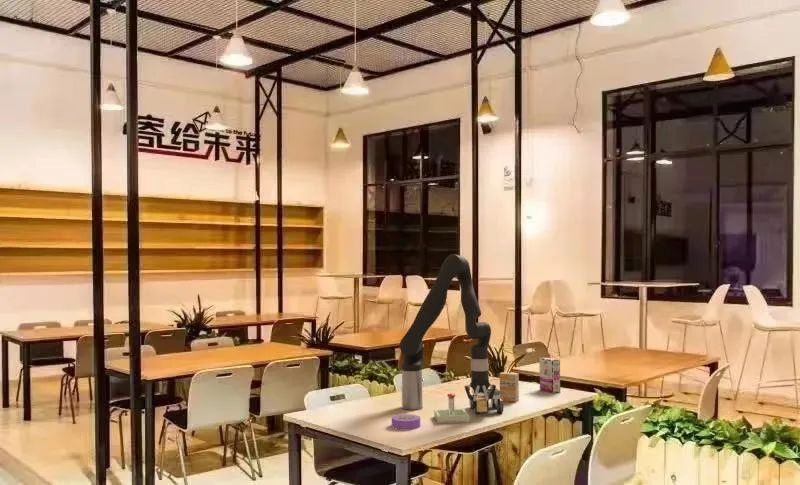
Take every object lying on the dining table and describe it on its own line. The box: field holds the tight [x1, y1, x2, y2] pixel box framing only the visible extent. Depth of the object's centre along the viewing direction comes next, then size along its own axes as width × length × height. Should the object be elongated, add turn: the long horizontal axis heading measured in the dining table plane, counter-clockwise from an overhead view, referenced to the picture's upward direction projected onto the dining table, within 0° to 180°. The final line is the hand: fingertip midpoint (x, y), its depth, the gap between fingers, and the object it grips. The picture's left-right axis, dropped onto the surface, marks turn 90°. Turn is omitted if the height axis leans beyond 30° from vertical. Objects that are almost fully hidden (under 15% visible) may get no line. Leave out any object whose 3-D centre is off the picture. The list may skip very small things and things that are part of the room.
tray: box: [433, 408, 470, 425], centre depth 285 cm, size 13×12×3 cm
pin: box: [447, 393, 456, 415], centre depth 285 cm, size 3×3×10 cm
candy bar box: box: [538, 357, 561, 394], centre depth 343 cm, size 11×5×16 cm, turn 25°
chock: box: [476, 398, 488, 413], centre depth 290 cm, size 6×4×4 cm, turn 5°
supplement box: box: [499, 371, 520, 403], centre depth 321 cm, size 8×5×13 cm, turn 62°
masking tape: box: [391, 413, 421, 430], centre depth 275 cm, size 12×12×4 cm
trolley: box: [468, 388, 504, 415], centre depth 301 cm, size 12×16×10 cm
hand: (480, 408), depth 290 cm, fingers closed on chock, 4 cm apart
